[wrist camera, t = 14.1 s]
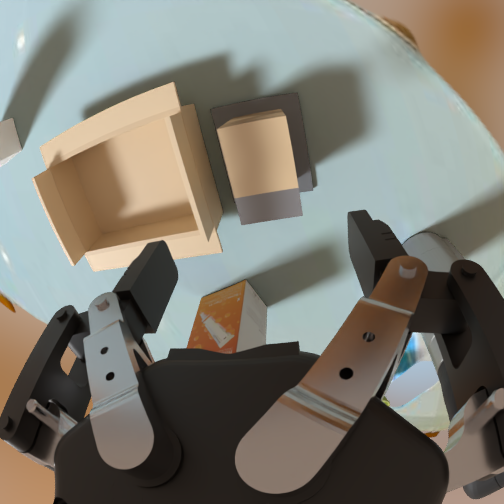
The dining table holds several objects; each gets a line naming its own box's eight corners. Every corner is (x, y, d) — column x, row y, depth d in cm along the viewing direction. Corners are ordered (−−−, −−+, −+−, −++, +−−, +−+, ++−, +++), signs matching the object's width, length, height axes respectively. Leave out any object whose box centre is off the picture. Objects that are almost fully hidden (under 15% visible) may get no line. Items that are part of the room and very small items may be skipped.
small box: (246, 277, 38) (236, 355, 27) (268, 307, 41) (265, 382, 30) (199, 297, 40) (178, 369, 30) (223, 323, 43) (210, 393, 32)
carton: (188, 82, 24) (161, 81, 18) (228, 230, 34) (217, 269, 27) (63, 137, 27) (23, 154, 21) (109, 251, 37) (83, 285, 30)
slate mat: (296, 92, 24) (297, 92, 24) (312, 188, 30) (313, 190, 30) (211, 108, 26) (210, 109, 25) (235, 200, 32) (234, 203, 31)
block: (280, 108, 25) (285, 115, 17) (294, 180, 29) (302, 215, 22) (232, 117, 26) (216, 129, 18) (249, 187, 30) (241, 225, 23)
